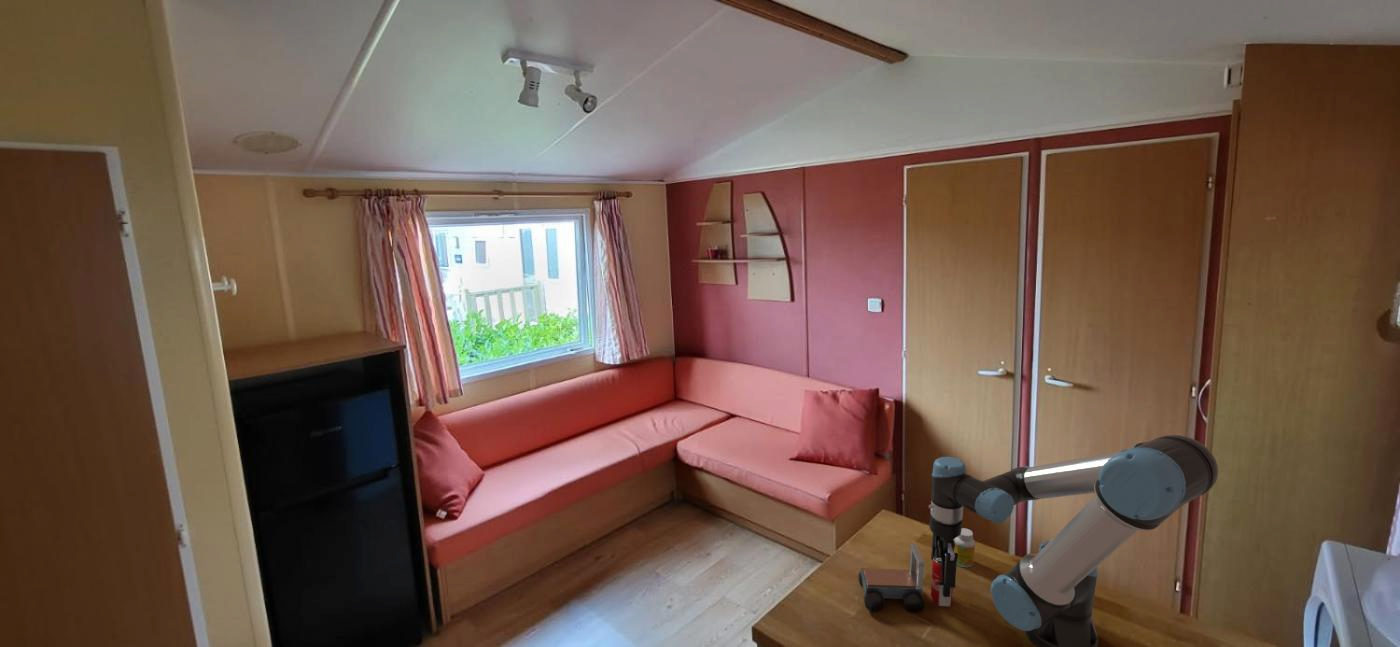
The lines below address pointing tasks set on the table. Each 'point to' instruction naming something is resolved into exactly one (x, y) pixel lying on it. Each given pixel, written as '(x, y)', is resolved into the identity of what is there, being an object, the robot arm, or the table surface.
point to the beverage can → (936, 579)
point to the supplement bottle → (965, 548)
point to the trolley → (894, 585)
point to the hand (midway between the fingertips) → (941, 597)
